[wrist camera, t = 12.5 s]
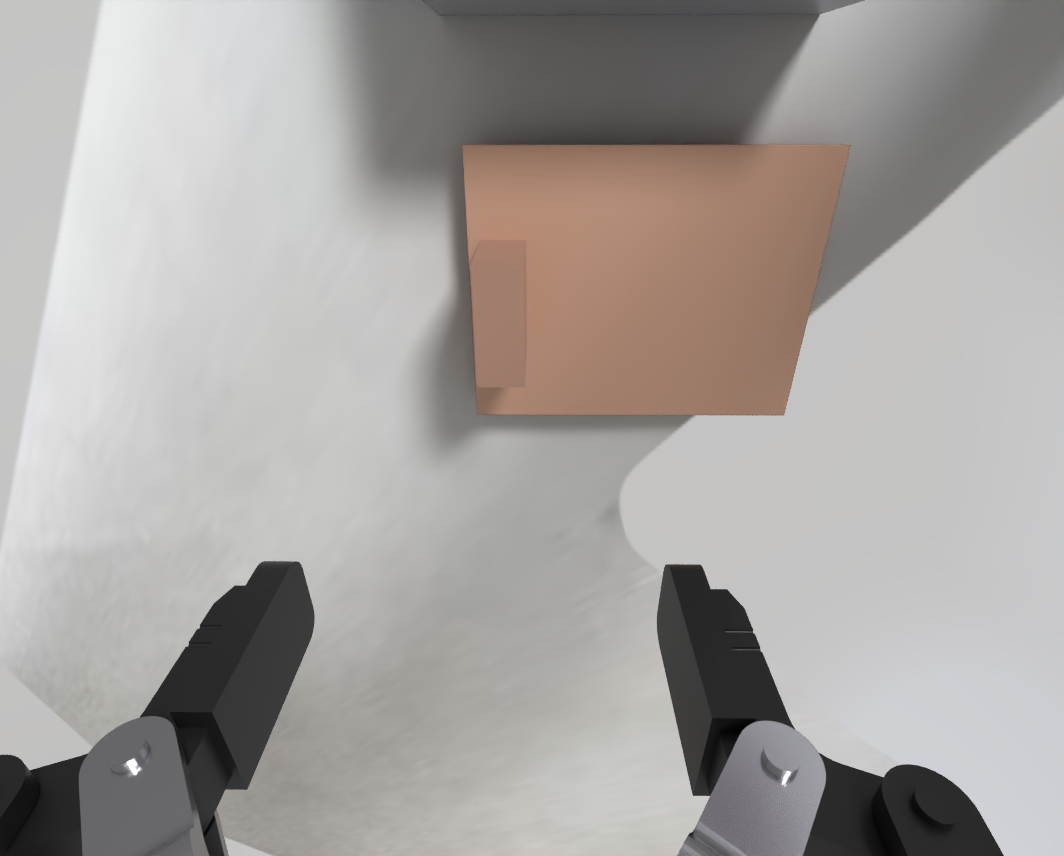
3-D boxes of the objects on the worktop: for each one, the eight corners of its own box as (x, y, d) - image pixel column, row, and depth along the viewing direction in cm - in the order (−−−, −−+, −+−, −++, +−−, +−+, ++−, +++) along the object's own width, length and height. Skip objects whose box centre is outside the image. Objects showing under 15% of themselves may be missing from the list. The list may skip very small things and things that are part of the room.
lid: (829, 142, 30) (915, 154, 23) (770, 398, 37) (822, 464, 31) (467, 142, 30) (447, 154, 23) (480, 397, 37) (467, 462, 31)
